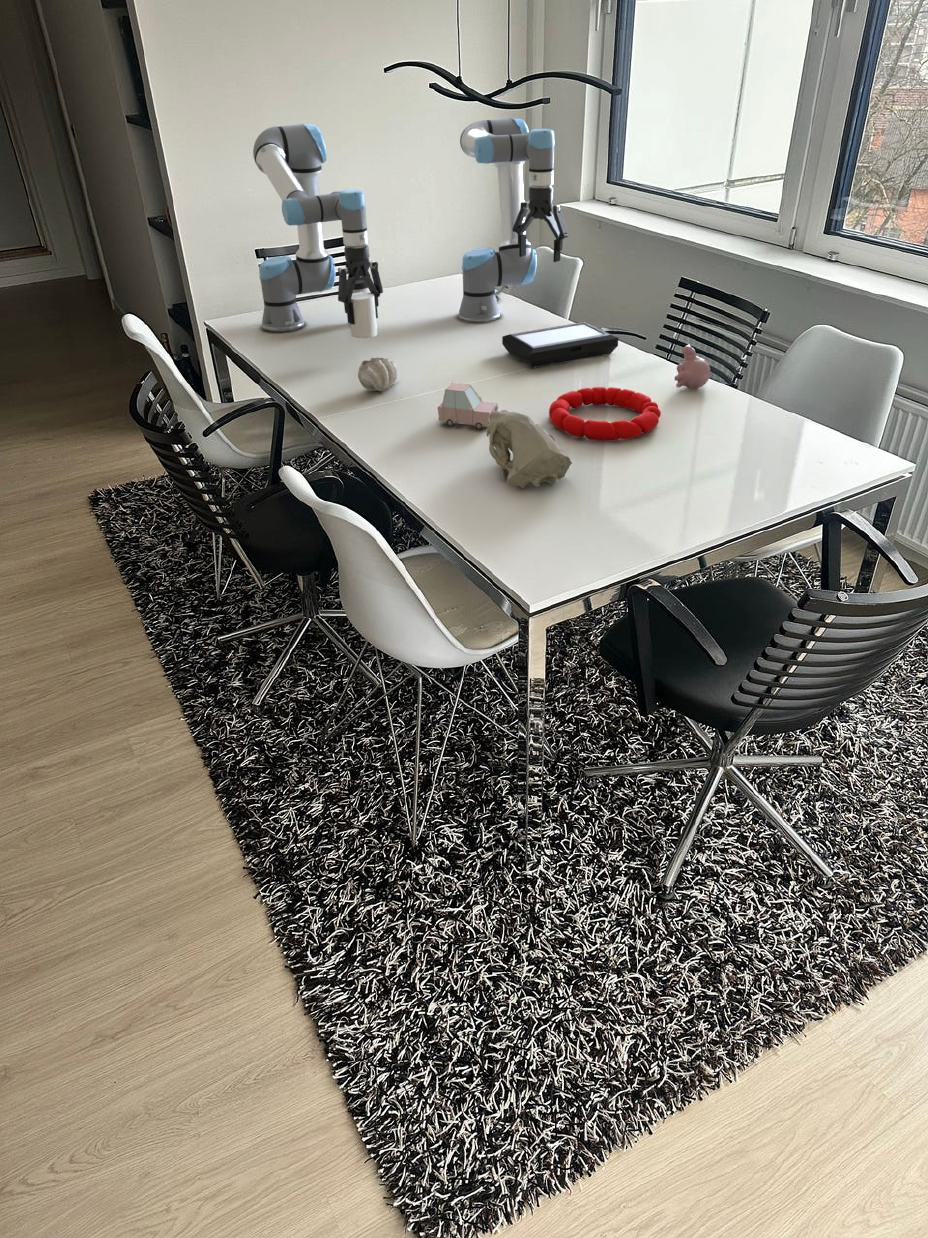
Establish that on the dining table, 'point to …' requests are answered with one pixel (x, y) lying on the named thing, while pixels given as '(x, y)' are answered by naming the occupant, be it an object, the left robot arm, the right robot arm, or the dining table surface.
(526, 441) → the animal skull
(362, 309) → the canister
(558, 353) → the electronic device
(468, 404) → the toy car
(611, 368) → the dining table surface
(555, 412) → the decorative ring
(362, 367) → the seashell
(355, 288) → the coffee cup
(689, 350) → the figurine
